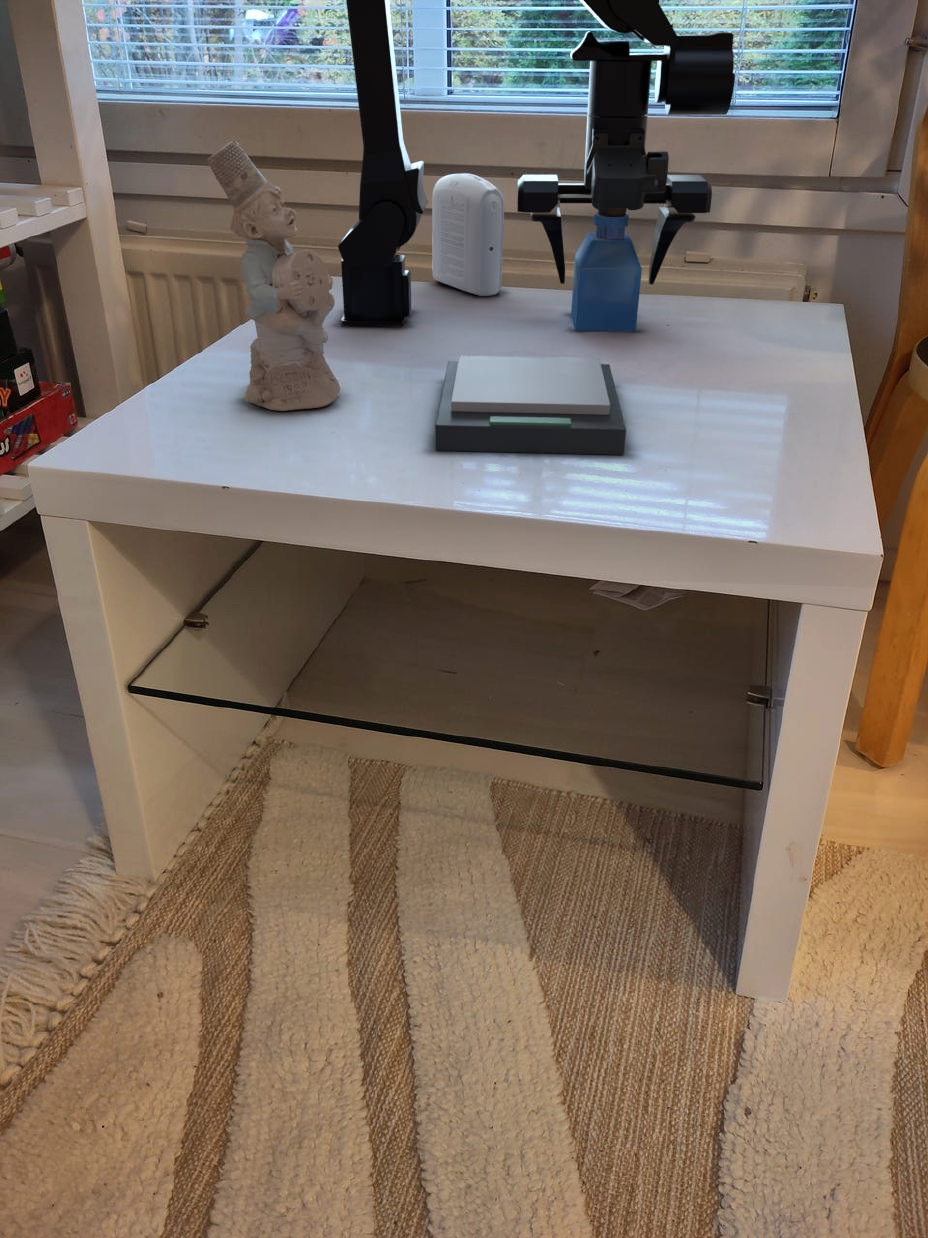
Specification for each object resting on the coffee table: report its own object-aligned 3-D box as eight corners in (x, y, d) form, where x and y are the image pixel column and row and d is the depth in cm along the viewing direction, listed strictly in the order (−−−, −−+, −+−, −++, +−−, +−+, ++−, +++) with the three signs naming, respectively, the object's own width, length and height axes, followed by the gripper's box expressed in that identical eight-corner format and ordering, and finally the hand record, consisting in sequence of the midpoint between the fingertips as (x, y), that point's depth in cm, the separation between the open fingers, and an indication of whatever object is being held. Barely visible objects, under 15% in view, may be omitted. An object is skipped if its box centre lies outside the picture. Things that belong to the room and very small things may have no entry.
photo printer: (507, 293, 118) (510, 178, 111) (477, 298, 115) (479, 181, 109) (456, 276, 125) (456, 167, 118) (427, 281, 123) (426, 170, 116)
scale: (435, 450, 76) (435, 414, 74) (448, 383, 89) (448, 351, 88) (623, 455, 75) (627, 418, 74) (607, 386, 89) (610, 354, 87)
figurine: (217, 406, 84) (184, 139, 73) (274, 377, 90) (251, 129, 80) (309, 422, 81) (288, 146, 70) (361, 391, 87) (349, 134, 77)
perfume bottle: (635, 331, 104) (648, 207, 98) (575, 330, 104) (584, 205, 98) (628, 316, 109) (640, 196, 103) (570, 314, 109) (579, 195, 103)
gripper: (519, 123, 90) (515, 302, 98) (731, 123, 89) (710, 303, 97) (519, 112, 100) (515, 276, 108) (710, 112, 99) (692, 277, 107)
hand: (606, 283), depth 105 cm, fingers open, 9 cm apart
